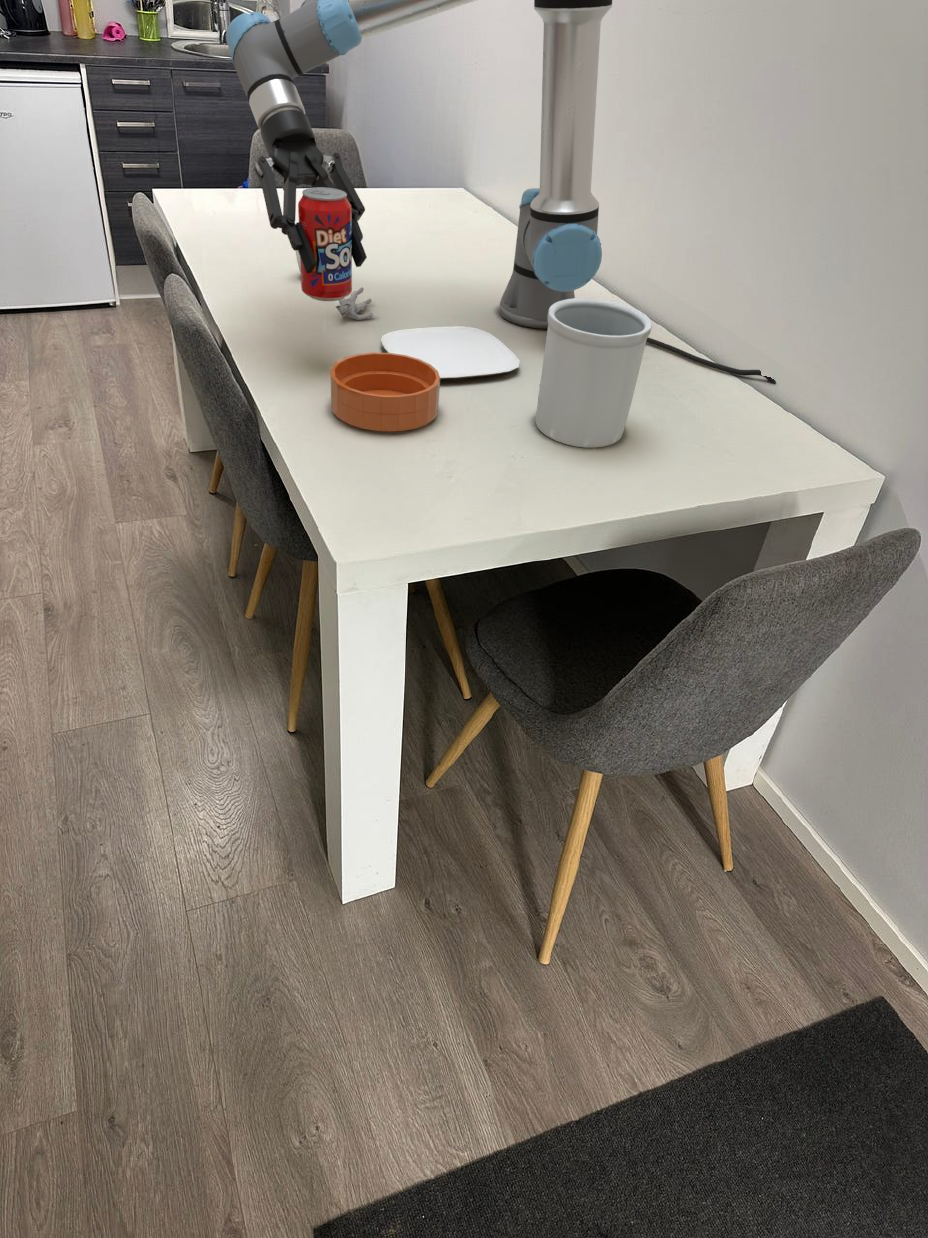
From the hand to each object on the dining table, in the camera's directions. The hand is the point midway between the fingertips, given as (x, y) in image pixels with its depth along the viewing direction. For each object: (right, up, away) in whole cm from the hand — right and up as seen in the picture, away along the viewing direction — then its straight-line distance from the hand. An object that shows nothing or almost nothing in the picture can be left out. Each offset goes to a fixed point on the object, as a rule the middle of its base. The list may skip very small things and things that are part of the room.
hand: (337, 264), depth 131 cm
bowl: (+7, -22, +2) cm, 23 cm away
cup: (-13, +17, +49) cm, 54 cm away
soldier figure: (-2, +4, +34) cm, 34 cm away
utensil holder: (+37, -24, +3) cm, 44 cm away
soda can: (-2, -3, +6) cm, 7 cm away
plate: (+17, -8, +21) cm, 28 cm away
